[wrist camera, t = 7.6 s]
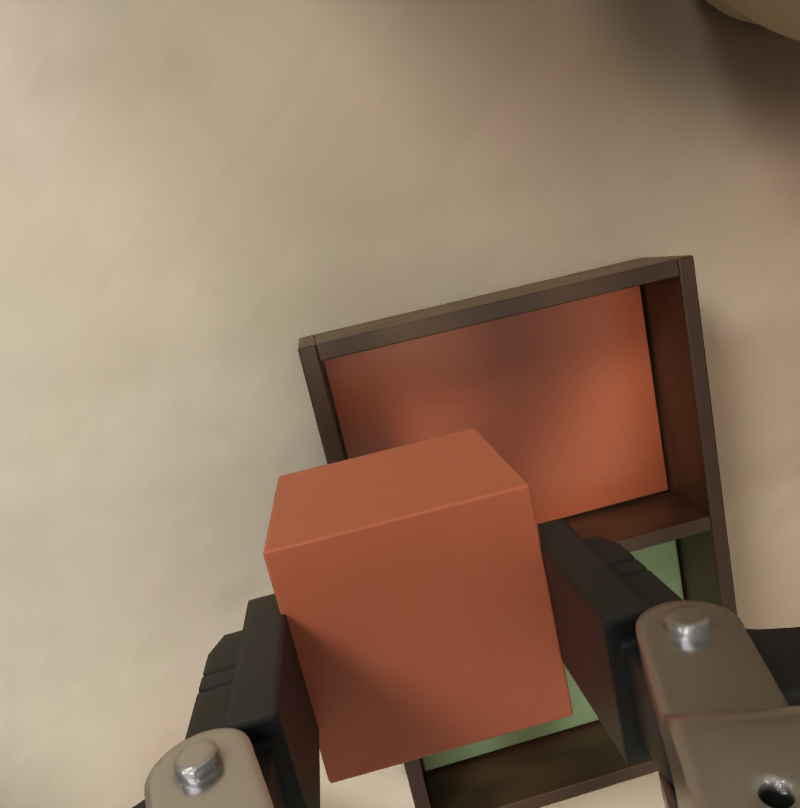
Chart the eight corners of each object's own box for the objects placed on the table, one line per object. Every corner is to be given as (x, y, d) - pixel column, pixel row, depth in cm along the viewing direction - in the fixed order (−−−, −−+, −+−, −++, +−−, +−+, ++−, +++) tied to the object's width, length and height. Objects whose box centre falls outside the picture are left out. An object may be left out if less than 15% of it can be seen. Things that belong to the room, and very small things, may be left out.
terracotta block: (326, 654, 15) (329, 785, 11) (277, 475, 14) (262, 552, 11) (511, 605, 16) (574, 716, 12) (474, 426, 15) (530, 483, 11)
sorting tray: (410, 777, 30) (424, 844, 26) (298, 338, 26) (297, 348, 22) (702, 689, 31) (753, 742, 28) (643, 257, 27) (693, 254, 23)
